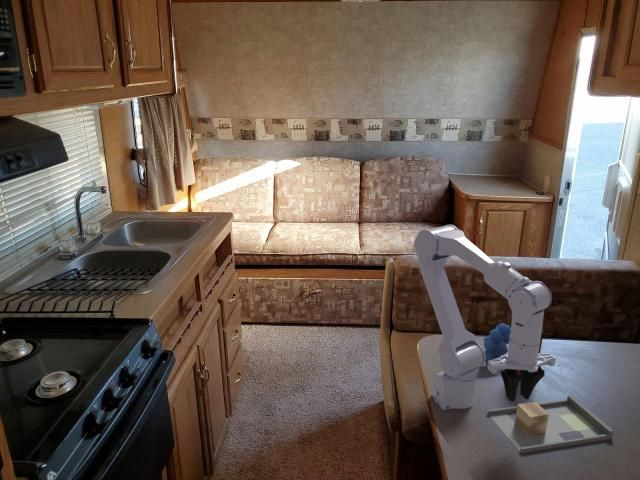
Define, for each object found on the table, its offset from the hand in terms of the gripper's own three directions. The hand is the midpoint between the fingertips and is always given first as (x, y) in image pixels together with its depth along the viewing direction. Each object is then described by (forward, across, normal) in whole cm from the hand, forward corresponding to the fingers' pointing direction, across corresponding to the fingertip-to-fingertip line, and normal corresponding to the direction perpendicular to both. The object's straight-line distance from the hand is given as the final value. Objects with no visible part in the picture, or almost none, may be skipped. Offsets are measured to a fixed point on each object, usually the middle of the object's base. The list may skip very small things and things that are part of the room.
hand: (517, 397), depth 104 cm
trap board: (+10, +9, +1) cm, 14 cm away
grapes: (+10, +13, +30) cm, 34 cm away
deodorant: (+10, +16, +20) cm, 28 cm away
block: (+9, +5, +1) cm, 10 cm away
